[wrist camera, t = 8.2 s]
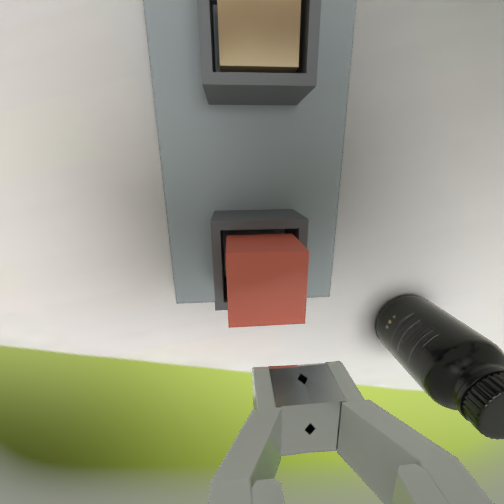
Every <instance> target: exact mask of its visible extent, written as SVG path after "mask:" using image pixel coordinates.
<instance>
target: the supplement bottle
mask: <svg viewBox="0 0 504 504" xmlns="http://www.w3.org/2000/svg"><path fill="white" fill-rule="evenodd" d="M376 332H377V335H378V337H379V339H380V340H381V342H382V343H383V344H384V345H385V347H386V348H387V349H388V350H389V351H390V352H391V353H392V355H393V356H394V357H395V358H396V359H397V360H398V361H399V363H400V364H401V365H402V366H403V367H404V368H405V369H406V370H407V372H408V373H409V374H410V375H411V376H412V377H413V378H414V380H415V381H416V382H417V383H418V384H419V385H420V386H421V387H422V389H423V390H424V391H425V392H426V393H427V394H428V395H429V396H430V397H431V398H432V399H433V400H434V401H435V402H437V403H438V404H440V405H442V406H444V407H447V408H450V409H453V410H458V411H459V412H460V413H461V415H462V416H463V417H464V418H465V419H466V420H468V421H470V422H471V423H472V424H473V425H474V427H475V428H476V429H477V430H479V432H480V433H482V434H483V435H485V436H486V437H490V438H491V439H504V352H503V351H502V350H501V349H500V348H499V347H498V346H497V345H496V344H494V343H493V342H492V341H490V340H489V339H487V338H486V337H484V336H483V335H481V334H479V333H478V332H476V331H475V330H473V329H472V328H470V327H469V326H467V325H466V324H464V323H462V322H461V321H459V320H458V319H456V318H455V317H453V316H452V315H450V314H449V313H447V312H445V311H444V310H442V309H441V308H439V307H438V306H436V305H435V304H433V303H431V302H430V301H428V300H426V299H425V298H422V297H420V296H415V295H407V296H402V297H399V298H396V299H394V300H392V301H391V302H389V303H388V304H387V305H386V306H385V307H384V308H383V309H382V310H381V312H380V313H379V315H378V318H377V321H376Z"/></svg>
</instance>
